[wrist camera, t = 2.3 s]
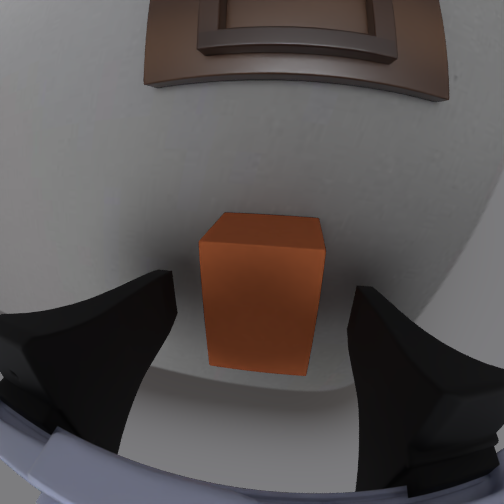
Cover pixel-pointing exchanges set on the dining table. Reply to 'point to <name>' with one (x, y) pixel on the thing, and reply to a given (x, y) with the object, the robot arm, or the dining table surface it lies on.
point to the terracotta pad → (261, 291)
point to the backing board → (300, 43)
